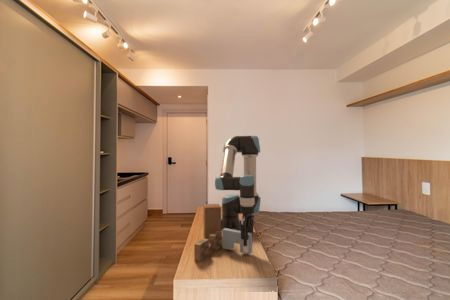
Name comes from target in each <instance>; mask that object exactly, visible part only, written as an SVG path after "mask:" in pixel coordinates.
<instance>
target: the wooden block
mask: <svg viewBox="0 0 450 300" xmlns="http://www.w3.org/2000/svg"><path fill="white" fill-rule="evenodd" d="M221 220H222V206H221V205H220V204H219V203H205V204H203V239H204V238H205V239H209V235H211V234H213V233H214V232H216V231H221V232H222V230H221Z"/></svg>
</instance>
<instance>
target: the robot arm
mask: <svg viewBox="0 0 450 300" xmlns="http://www.w3.org/2000/svg"><path fill="white" fill-rule="evenodd" d="M222 152H223V157H222V158H223V159H222V164H221V169H220V174H219V176H217V177H215V179H214V180H215V181H214V187H215V190H217V191H239V194H237V193H232V194H226V195H224V196H222V199H221V231H222V230H223V229H224V228H228V229H233V230H239V231H241V239H243V252H247V253H248V252H249V239H248V232H250V233H252V238H253V237H254V218H255V215H257V214H259V213H260V208H261V196H259V193H258V192H257V157H258V156H259V153H261V146H260V140H259V137H258V136H257V135H235V136H233V137H230V138H229V139H228V140H227V141H226V142H225V144H224V145H223V149H222ZM239 153H240V154H241V156H242V157H243V175H242V174H241V175H240V176H234V170H235V160H236V156H237V154H239ZM239 215H242V217H241V219H240V217H239Z"/></svg>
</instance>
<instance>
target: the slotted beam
mask: <svg viewBox="0 0 450 300" xmlns="http://www.w3.org/2000/svg"><path fill="white" fill-rule="evenodd" d="M220 247H223V244H222V230H221V231H216V232H214V233H213V234H211V235H209V239H205V238H204V237H203V238H202V239H201V240H198V241H197V242H196V243H194V249H193V250H194V261H195V262H201V261H202V260H204V259H205V258H207V257H208V256H209V255H211V254H212V253H214V252H215V251H216V250H218V249H219V248H220Z"/></svg>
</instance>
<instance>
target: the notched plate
mask: <svg viewBox="0 0 450 300" xmlns="http://www.w3.org/2000/svg"><path fill="white" fill-rule="evenodd" d="M221 232H222V249H224V250H230V251H233V250H234V249H235V244H239V253H242V254H247V255H251V254H252V253H253V237H252V235H253V234H252V233H250V232H248V239H249V252H248V253H247V252H243V239H241V230H233V229H228V228H224V229H223V230H221Z"/></svg>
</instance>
